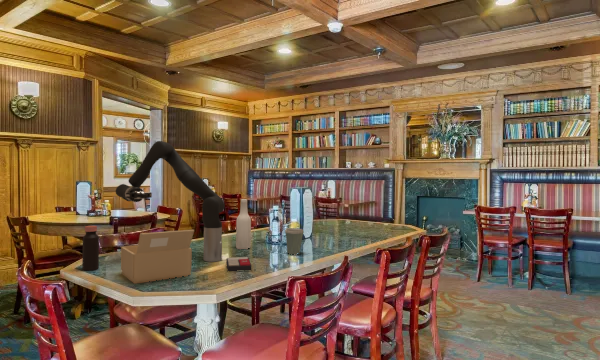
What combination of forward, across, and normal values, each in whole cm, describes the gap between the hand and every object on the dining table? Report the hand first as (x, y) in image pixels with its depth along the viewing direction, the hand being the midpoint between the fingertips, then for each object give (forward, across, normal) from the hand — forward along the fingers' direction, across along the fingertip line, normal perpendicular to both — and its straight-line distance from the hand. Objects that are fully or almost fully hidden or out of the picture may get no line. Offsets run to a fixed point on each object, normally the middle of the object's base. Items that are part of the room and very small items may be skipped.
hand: (144, 196), depth 195 cm
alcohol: (-16, +64, +34) cm, 74 cm away
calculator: (+27, +37, +35) cm, 57 cm away
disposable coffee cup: (+15, +79, +34) cm, 88 cm away
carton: (+19, 0, +34) cm, 39 cm away
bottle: (-7, -22, +34) cm, 41 cm away
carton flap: (+31, 0, +17) cm, 36 cm away
